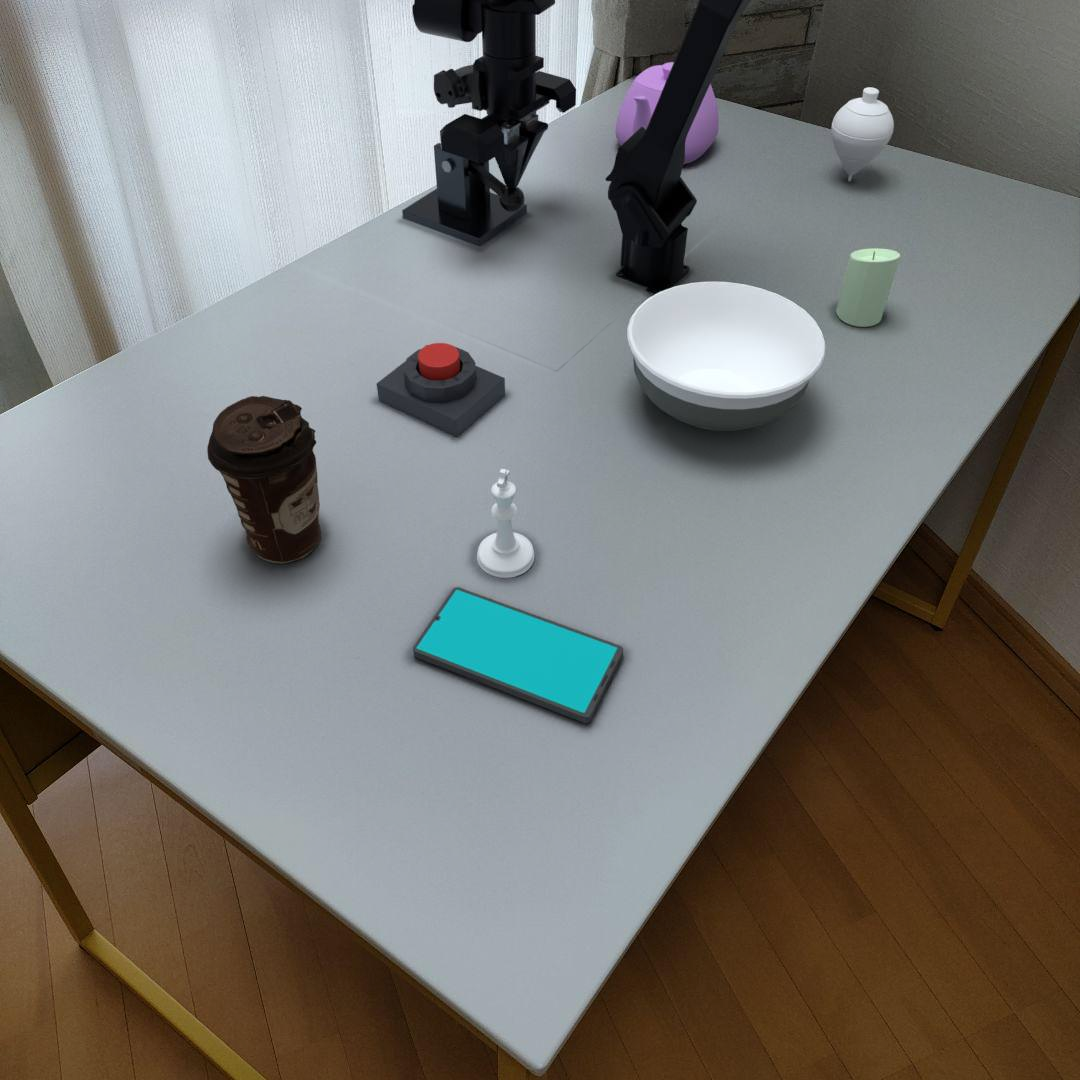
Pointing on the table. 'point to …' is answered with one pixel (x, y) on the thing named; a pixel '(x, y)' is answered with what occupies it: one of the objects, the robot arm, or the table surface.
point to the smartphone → (520, 653)
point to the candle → (867, 286)
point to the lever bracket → (461, 203)
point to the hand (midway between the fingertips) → (511, 187)
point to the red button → (439, 361)
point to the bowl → (724, 353)
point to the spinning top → (861, 130)
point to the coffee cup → (269, 475)
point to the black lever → (499, 188)
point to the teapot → (643, 104)
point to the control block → (442, 394)
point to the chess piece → (505, 536)
